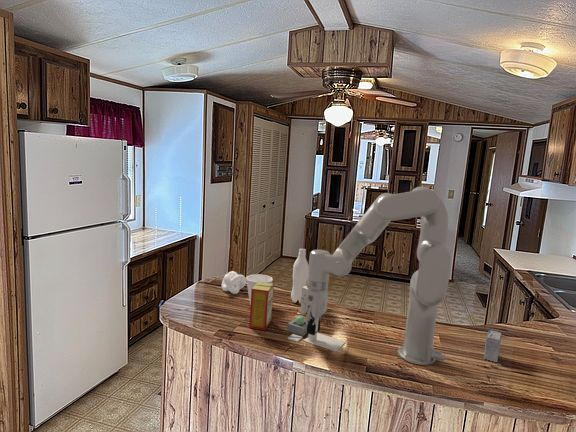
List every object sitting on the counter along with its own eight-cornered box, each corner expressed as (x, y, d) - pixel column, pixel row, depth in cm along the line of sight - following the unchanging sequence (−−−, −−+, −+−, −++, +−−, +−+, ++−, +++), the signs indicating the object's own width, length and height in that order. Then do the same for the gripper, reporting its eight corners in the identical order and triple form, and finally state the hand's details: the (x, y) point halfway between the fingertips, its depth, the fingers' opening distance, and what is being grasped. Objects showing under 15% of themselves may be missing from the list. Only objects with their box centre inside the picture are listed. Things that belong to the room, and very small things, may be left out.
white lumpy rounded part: (214, 290, 192) (215, 272, 190) (232, 285, 201) (233, 268, 200) (229, 296, 185) (230, 278, 183) (248, 291, 194) (249, 273, 192)
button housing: (311, 329, 156) (311, 322, 155) (303, 336, 150) (303, 328, 149) (295, 324, 159) (296, 317, 159) (286, 331, 153) (287, 323, 153)
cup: (270, 311, 171) (272, 283, 169) (242, 309, 171) (244, 281, 169) (271, 301, 183) (273, 275, 181) (246, 299, 183) (247, 273, 181)
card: (302, 337, 148) (302, 336, 148) (297, 341, 145) (297, 340, 144) (292, 334, 150) (292, 333, 150) (287, 338, 147) (287, 337, 146)
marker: (318, 338, 147) (321, 308, 145) (314, 341, 144) (317, 310, 143) (310, 335, 149) (313, 305, 147) (306, 339, 146) (308, 308, 144)
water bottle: (309, 302, 186) (313, 249, 182) (298, 305, 180) (303, 251, 177) (297, 297, 190) (301, 246, 187) (287, 300, 185) (291, 248, 181)
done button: (305, 326, 155) (306, 316, 154) (301, 329, 152) (302, 319, 151) (297, 324, 156) (298, 314, 156) (293, 327, 153) (294, 317, 153)
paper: (345, 342, 147) (345, 341, 147) (336, 351, 139) (336, 350, 139) (314, 332, 153) (314, 331, 153) (303, 341, 146) (303, 340, 146)
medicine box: (496, 363, 140) (500, 340, 138) (482, 359, 142) (486, 336, 141) (498, 355, 146) (502, 332, 145) (485, 351, 149) (488, 329, 147)
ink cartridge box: (310, 307, 178) (313, 276, 176) (319, 311, 176) (322, 279, 173) (299, 313, 172) (302, 280, 170) (308, 316, 169) (311, 283, 167)
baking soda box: (265, 330, 152) (268, 290, 150) (249, 327, 154) (251, 287, 151) (271, 320, 162) (274, 282, 159) (255, 318, 163) (258, 280, 160)
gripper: (317, 292, 135) (312, 343, 137) (336, 281, 149) (331, 327, 152) (297, 287, 138) (293, 337, 141) (317, 276, 152) (313, 322, 155)
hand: (313, 331), depth 146 cm, fingers closed on marker, 3 cm apart
